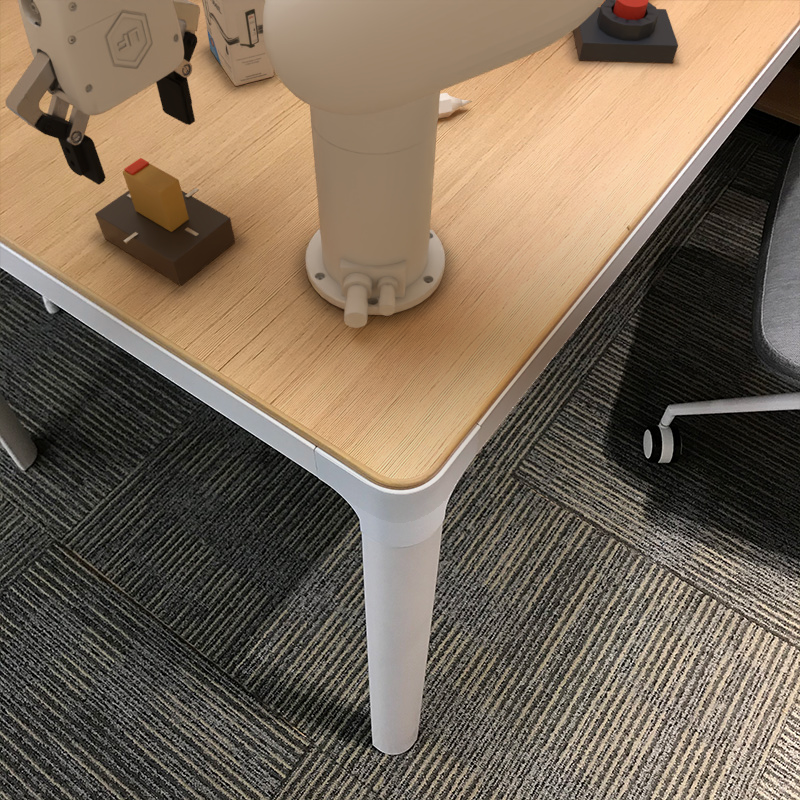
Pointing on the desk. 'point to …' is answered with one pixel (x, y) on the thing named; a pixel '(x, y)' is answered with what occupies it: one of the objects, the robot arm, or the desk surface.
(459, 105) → the marker
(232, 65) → the ink box
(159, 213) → the lock knob
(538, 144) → the desk surface
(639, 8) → the bell button
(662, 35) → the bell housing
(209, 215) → the plate
